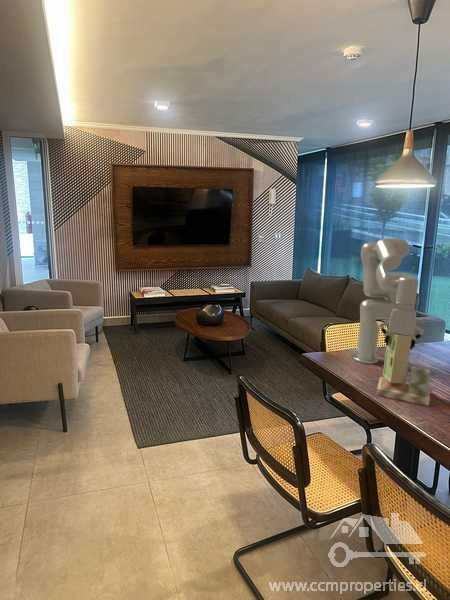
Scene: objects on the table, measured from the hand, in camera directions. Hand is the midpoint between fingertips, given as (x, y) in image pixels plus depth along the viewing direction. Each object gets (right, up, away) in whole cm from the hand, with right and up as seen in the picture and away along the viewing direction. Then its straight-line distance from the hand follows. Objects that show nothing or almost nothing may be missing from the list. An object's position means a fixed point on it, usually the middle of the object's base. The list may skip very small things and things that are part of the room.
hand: (399, 346), depth 178 cm
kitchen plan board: (+3, -20, +3) cm, 21 cm away
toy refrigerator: (-1, -15, +4) cm, 15 cm away
